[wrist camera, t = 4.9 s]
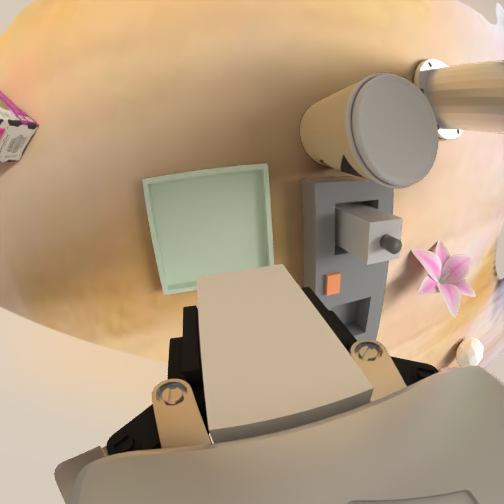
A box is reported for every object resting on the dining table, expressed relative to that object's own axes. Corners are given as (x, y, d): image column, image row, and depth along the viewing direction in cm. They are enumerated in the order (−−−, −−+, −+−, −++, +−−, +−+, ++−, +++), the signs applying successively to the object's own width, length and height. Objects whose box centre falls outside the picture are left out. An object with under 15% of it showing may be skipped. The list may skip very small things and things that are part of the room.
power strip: (300, 179, 29) (316, 183, 25) (375, 175, 31) (396, 180, 27) (302, 344, 37) (313, 362, 33) (363, 327, 38) (377, 342, 35)
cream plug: (282, 263, 13) (406, 433, 4) (284, 331, 14) (365, 489, 6) (196, 276, 12) (218, 491, 4) (209, 344, 14) (241, 524, 5)
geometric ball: (448, 346, 54) (450, 373, 48) (465, 328, 48) (469, 356, 43) (469, 350, 52) (471, 376, 46) (486, 333, 47) (491, 359, 41)
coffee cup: (295, 177, 29) (357, 194, 18) (287, 92, 25) (346, 61, 14) (367, 172, 30) (441, 188, 19) (361, 96, 27) (435, 82, 16)
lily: (452, 249, 40) (487, 241, 30) (445, 315, 38) (480, 320, 29) (399, 236, 40) (431, 224, 31) (391, 309, 39) (422, 315, 29)
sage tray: (263, 163, 27) (267, 163, 26) (270, 270, 32) (275, 277, 30) (145, 178, 25) (141, 179, 24) (165, 287, 30) (163, 295, 28)
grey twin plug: (358, 202, 31) (413, 222, 22) (357, 234, 32) (408, 263, 23) (328, 204, 30) (380, 227, 21) (328, 239, 31) (376, 271, 22)
